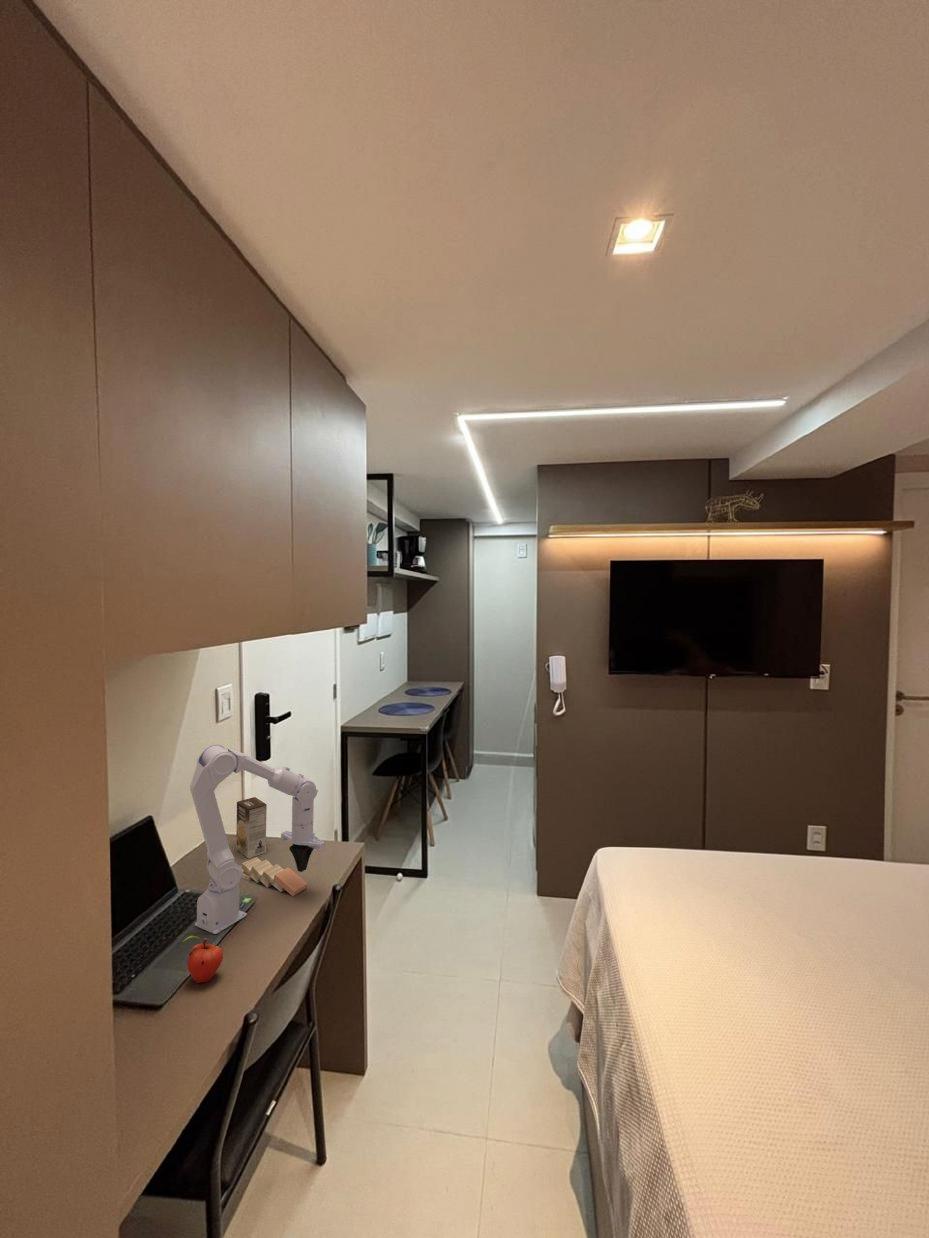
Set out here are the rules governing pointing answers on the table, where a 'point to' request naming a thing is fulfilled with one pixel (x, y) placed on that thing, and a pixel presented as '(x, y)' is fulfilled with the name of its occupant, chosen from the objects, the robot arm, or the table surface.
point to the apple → (204, 960)
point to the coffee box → (251, 827)
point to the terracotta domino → (290, 881)
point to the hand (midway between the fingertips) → (302, 870)
